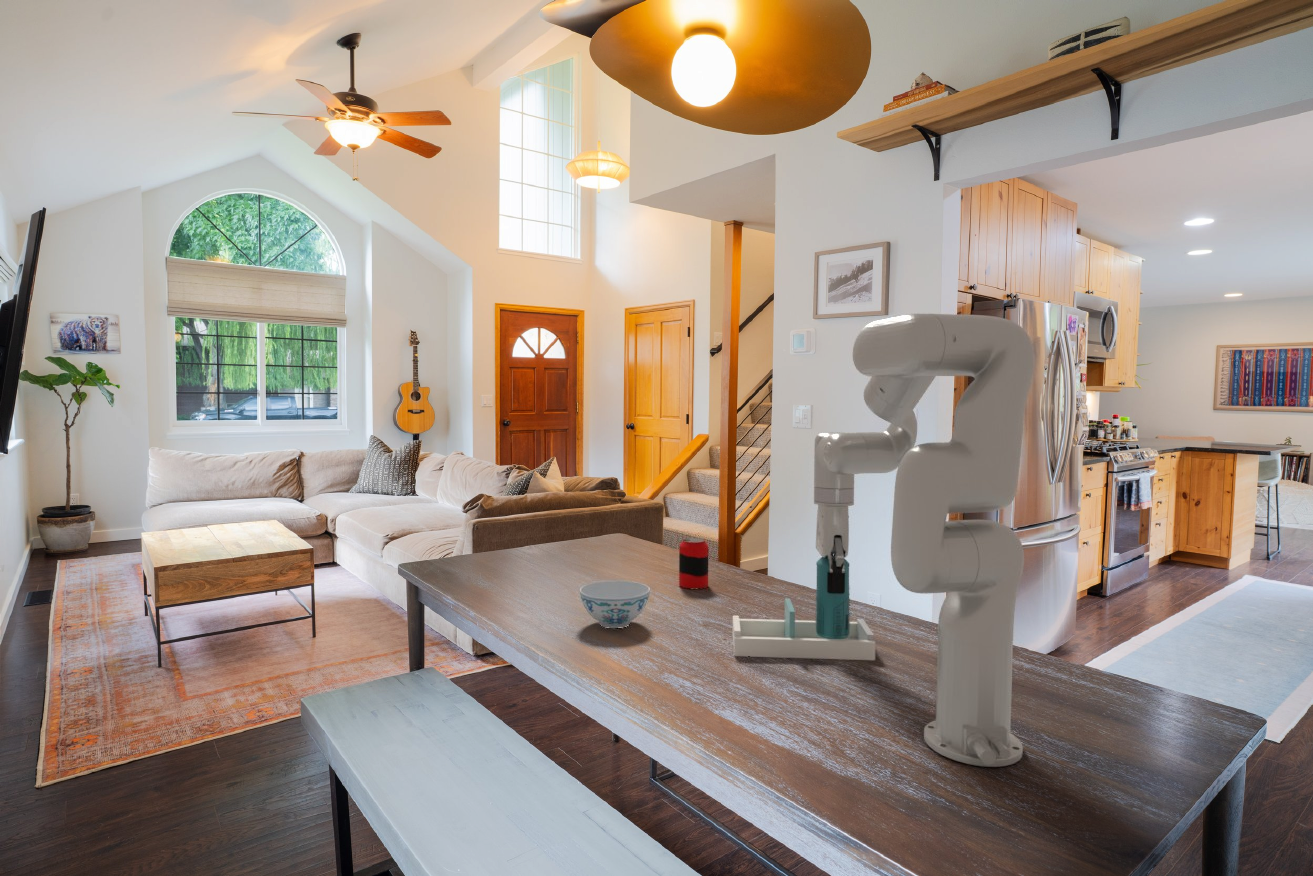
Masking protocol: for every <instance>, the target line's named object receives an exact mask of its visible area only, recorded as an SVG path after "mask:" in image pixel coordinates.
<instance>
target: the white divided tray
mask: <svg viewBox="0 0 1313 876" xmlns="http://www.w3.org/2000/svg"><path fill="white" fill-rule="evenodd" d="M784 624H785V619H764V618H763V619H761V618H740V616H739V615H732V633H731V634H732V645H733V646H734V647H733V657H748V656H750V657H753V658H755V657H756V658H758V657H759V658H785V659H786V658H787V659H789V658H790V659H814V660H815V659H816V660H817V659H820V660H848V661H849V660H853V661H854V660H855V661H856V660H857V661H876V641H875V635H874V633H873V632H872V630H871V629H870V627H869V626H868V624H867V623H866V621H865V620H864V619H863V618H856V621H849V625H850V626H849V628H850V629H849V630H850V631H849V636H848V637H847V638H845V639H827V638H823V637H820V636H819V635H818V634H817V632H816V620H800V619H799V620H798V619H795V638H785V636H784Z"/></svg>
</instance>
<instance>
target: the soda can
mask: <svg viewBox="0 0 1313 876" xmlns="http://www.w3.org/2000/svg"><path fill="white" fill-rule="evenodd" d="M678 546H679V550H678V552H679V553H678V555H679V556H678V562H679V563H678V568H679V569H678V571H679V572H678V573H679V574H678V575H679V576H678V585H679V586H680V587H681V586H682V587H685V588H704V587H706V588H707V587H708V586H709V548H710V547H709V544H708V543H707V541H706V540H705V539H704V538H695V537H691V538H684V539H682V541H681V543H680V544H679V545H678ZM682 587H681V588H682ZM685 588H684V589H685ZM704 589H705V588H704Z"/></svg>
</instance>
